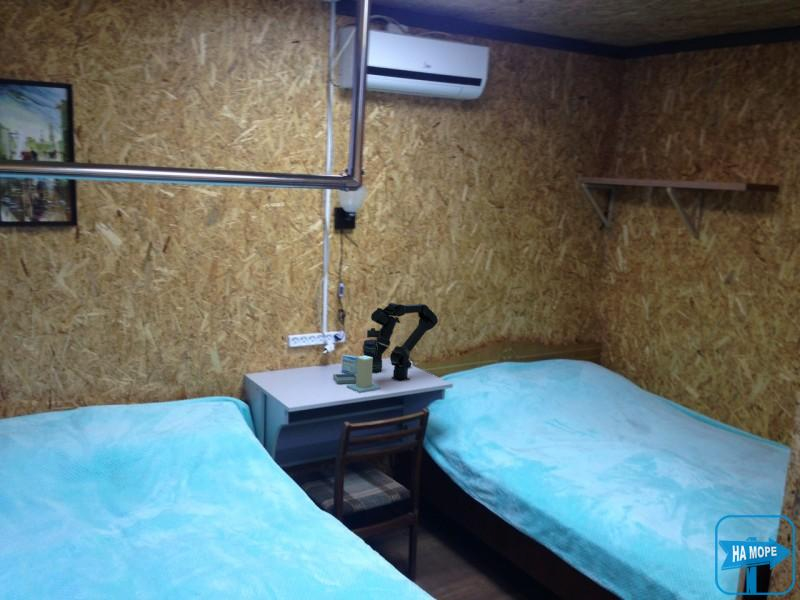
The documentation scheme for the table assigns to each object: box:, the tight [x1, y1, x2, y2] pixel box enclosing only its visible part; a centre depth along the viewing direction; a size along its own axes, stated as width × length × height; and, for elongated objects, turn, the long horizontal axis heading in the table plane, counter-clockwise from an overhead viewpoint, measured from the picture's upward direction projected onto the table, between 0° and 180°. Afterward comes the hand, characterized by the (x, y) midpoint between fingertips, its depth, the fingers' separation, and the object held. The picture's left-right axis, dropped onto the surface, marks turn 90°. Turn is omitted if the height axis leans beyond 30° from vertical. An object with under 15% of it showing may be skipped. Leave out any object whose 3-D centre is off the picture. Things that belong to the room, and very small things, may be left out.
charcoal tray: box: [332, 373, 357, 385], centre depth 323 cm, size 11×11×2 cm
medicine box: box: [341, 354, 360, 375], centre depth 337 cm, size 8×4×9 cm, turn 62°
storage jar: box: [362, 339, 383, 374], centre depth 343 cm, size 10×10×15 cm
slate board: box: [346, 383, 382, 394], centre depth 313 cm, size 12×10×1 cm
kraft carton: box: [356, 355, 373, 388], centre depth 311 cm, size 5×5×14 cm
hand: (375, 359), depth 318 cm, fingers open, 9 cm apart
